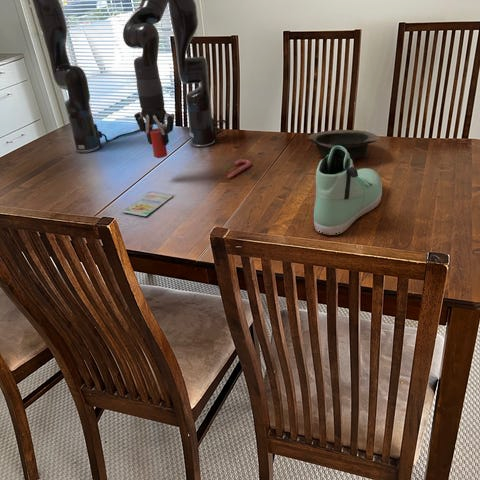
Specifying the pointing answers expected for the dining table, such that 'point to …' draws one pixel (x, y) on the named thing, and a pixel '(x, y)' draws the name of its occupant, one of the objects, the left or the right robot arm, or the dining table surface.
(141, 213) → the baking ingredient package
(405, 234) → the dining table surface
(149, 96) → the right robot arm
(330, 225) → the sneaker
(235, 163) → the candy cane
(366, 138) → the stone bowl
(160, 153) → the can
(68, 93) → the left robot arm
